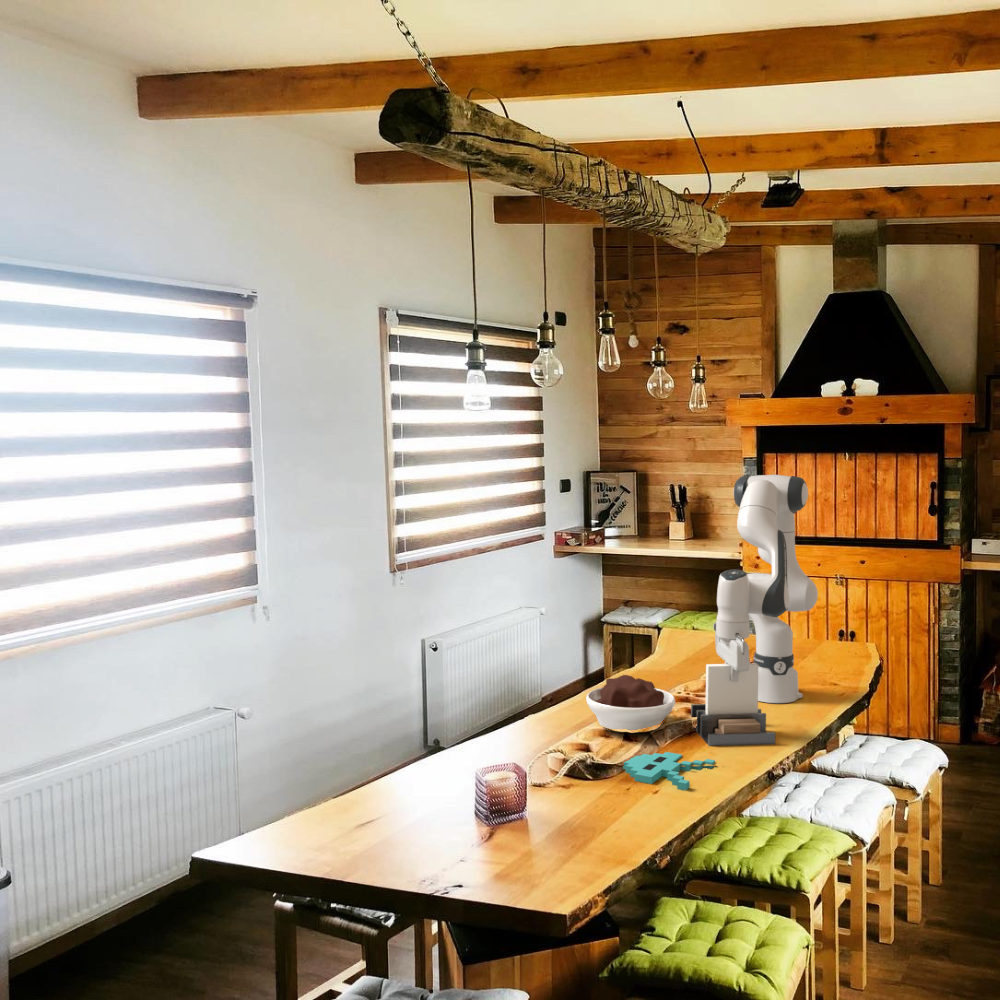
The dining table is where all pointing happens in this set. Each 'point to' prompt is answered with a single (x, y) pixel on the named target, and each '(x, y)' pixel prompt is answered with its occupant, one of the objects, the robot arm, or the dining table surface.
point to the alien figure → (662, 768)
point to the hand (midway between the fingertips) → (732, 679)
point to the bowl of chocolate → (629, 703)
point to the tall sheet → (731, 690)
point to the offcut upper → (739, 726)
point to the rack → (710, 723)
